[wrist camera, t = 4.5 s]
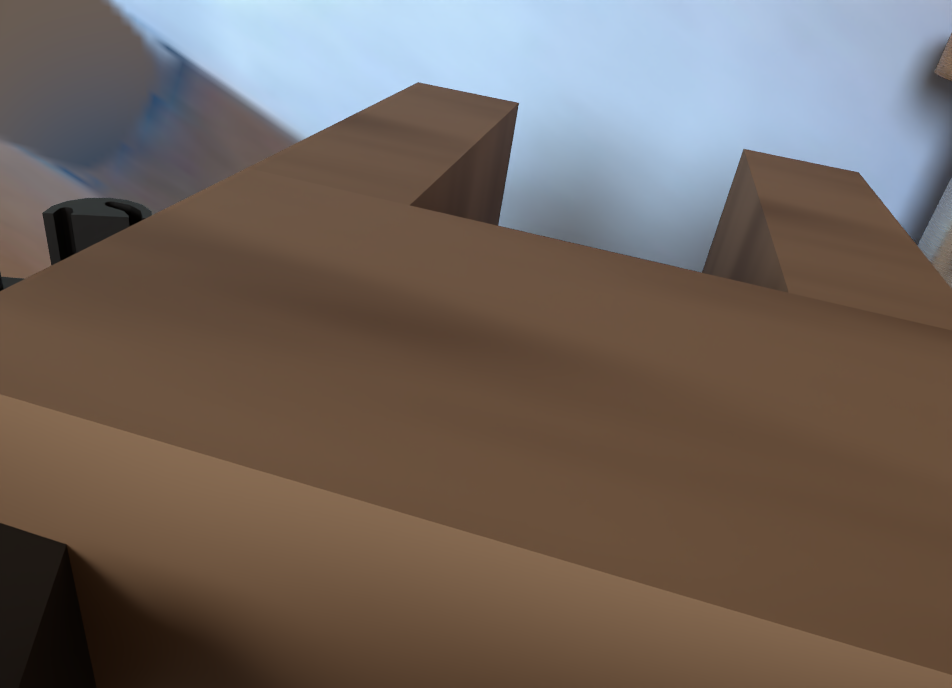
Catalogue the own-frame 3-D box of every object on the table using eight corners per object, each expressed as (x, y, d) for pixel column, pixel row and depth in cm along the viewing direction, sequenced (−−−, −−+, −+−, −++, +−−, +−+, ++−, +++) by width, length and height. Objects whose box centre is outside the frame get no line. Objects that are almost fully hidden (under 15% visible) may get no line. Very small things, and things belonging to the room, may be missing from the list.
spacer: (768, 384, 16) (911, 1099, 6) (397, 292, 18) (8, 759, 7) (858, 172, 14) (1354, 793, 4) (418, 82, 15) (-129, 355, 5)
